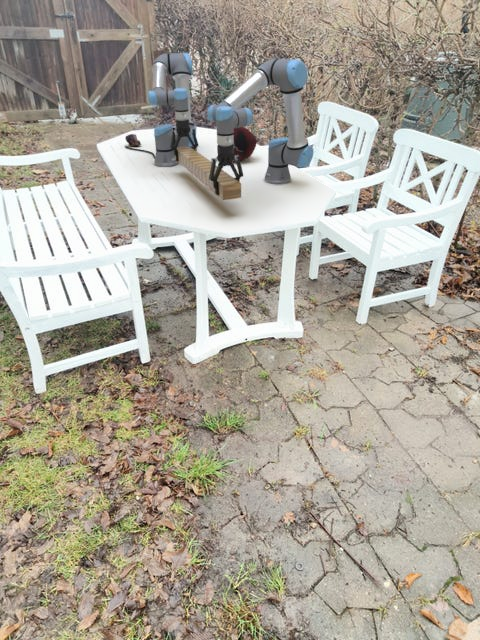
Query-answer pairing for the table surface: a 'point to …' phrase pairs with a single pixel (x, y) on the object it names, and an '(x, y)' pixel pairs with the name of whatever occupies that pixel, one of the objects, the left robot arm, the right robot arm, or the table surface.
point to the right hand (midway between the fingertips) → (226, 193)
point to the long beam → (208, 173)
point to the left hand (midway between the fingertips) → (185, 160)
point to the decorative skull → (243, 143)
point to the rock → (132, 140)
